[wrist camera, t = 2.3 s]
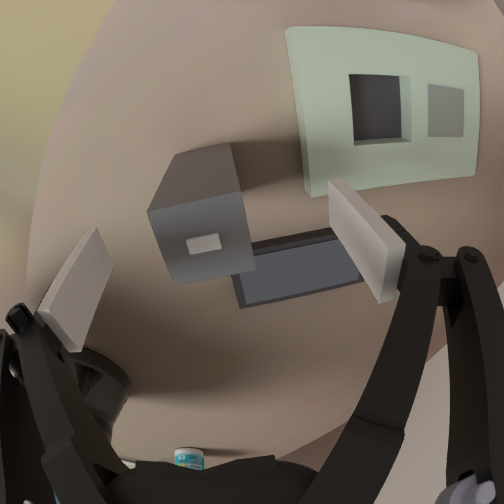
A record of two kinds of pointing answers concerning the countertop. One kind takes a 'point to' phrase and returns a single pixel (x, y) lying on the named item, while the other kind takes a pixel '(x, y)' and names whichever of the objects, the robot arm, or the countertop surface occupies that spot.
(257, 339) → the countertop surface
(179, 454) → the pill bottle
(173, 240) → the brick
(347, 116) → the outlet plate
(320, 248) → the phone
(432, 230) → the countertop surface
